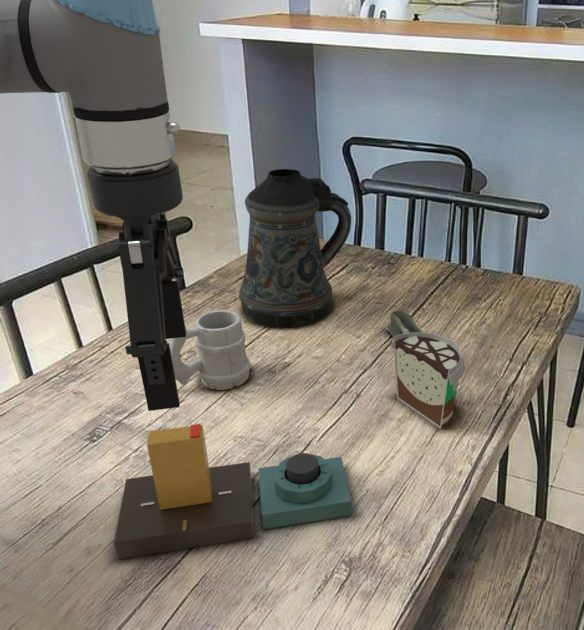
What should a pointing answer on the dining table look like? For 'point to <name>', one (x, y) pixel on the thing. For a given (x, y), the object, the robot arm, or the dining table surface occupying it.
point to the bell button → (302, 468)
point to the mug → (214, 351)
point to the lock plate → (185, 515)
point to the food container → (428, 374)
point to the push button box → (304, 495)
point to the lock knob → (180, 466)
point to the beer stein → (289, 250)
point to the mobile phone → (402, 324)
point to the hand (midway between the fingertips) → (169, 369)
